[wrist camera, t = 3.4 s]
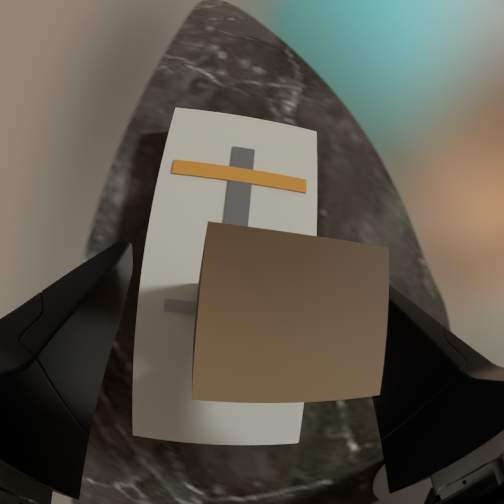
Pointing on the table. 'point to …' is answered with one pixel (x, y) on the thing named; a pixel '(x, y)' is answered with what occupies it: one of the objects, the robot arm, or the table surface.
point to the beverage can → (406, 500)
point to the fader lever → (288, 317)
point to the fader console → (190, 257)
